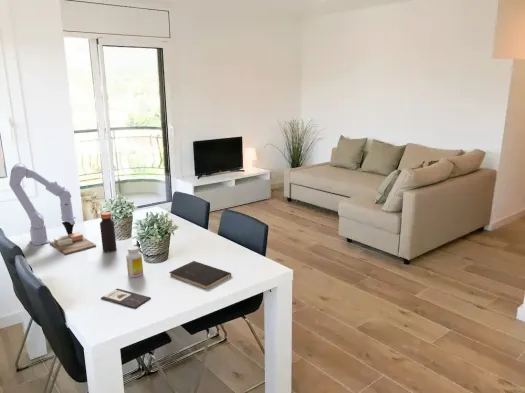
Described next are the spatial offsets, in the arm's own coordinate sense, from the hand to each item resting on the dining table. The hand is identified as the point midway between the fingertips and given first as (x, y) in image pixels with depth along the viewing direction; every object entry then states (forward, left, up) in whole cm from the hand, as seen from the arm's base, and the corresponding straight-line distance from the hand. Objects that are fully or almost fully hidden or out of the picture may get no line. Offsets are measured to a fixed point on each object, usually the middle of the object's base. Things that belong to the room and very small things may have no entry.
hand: (69, 233), depth 242 cm
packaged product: (+48, +22, -3) cm, 53 cm away
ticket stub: (+8, 0, -1) cm, 8 cm away
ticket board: (+13, -4, -2) cm, 14 cm away
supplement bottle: (+71, +2, -2) cm, 71 cm away
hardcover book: (+93, +22, -3) cm, 96 cm away
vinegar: (+34, +7, -2) cm, 35 cm away
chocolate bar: (+89, -12, -3) cm, 90 cm away
